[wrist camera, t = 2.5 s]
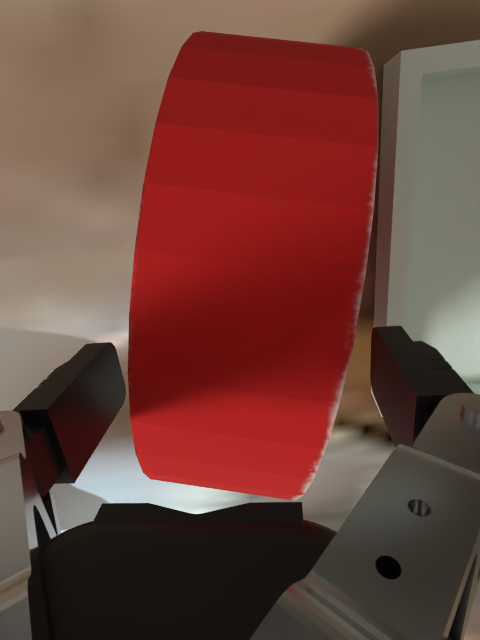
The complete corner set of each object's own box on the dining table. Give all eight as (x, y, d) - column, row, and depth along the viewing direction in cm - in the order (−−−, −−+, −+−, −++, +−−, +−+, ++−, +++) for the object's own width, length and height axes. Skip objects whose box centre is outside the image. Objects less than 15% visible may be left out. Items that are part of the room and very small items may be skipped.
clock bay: (371, 391, 33) (381, 417, 30) (383, 64, 24) (401, 50, 20) (497, 386, 32) (522, 412, 29) (564, 40, 22) (613, 20, 19)
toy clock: (232, 82, 25) (119, -131, 6) (322, 92, 24) (471, -95, 6) (209, 349, 33) (131, 595, 14) (276, 358, 33) (282, 619, 14)
